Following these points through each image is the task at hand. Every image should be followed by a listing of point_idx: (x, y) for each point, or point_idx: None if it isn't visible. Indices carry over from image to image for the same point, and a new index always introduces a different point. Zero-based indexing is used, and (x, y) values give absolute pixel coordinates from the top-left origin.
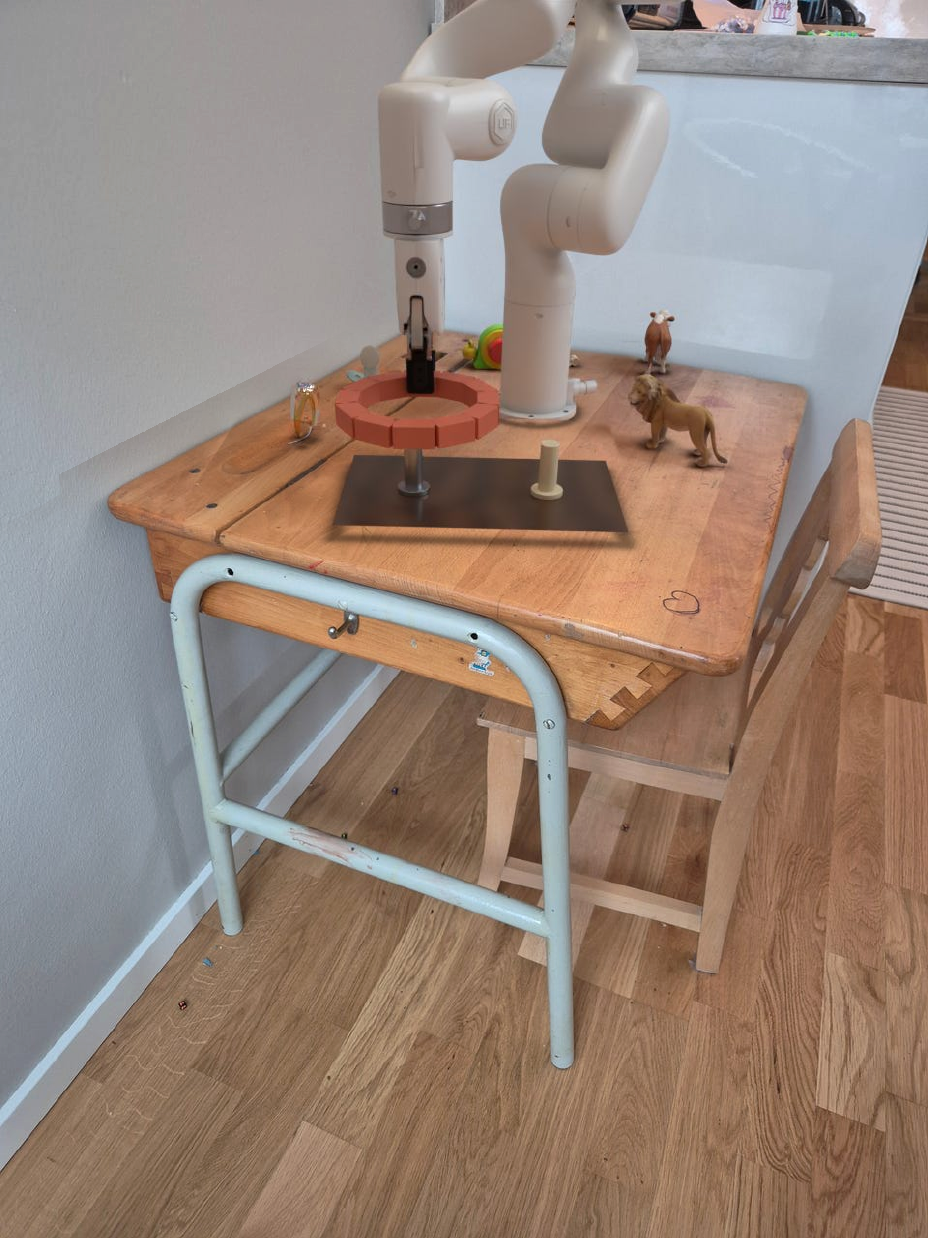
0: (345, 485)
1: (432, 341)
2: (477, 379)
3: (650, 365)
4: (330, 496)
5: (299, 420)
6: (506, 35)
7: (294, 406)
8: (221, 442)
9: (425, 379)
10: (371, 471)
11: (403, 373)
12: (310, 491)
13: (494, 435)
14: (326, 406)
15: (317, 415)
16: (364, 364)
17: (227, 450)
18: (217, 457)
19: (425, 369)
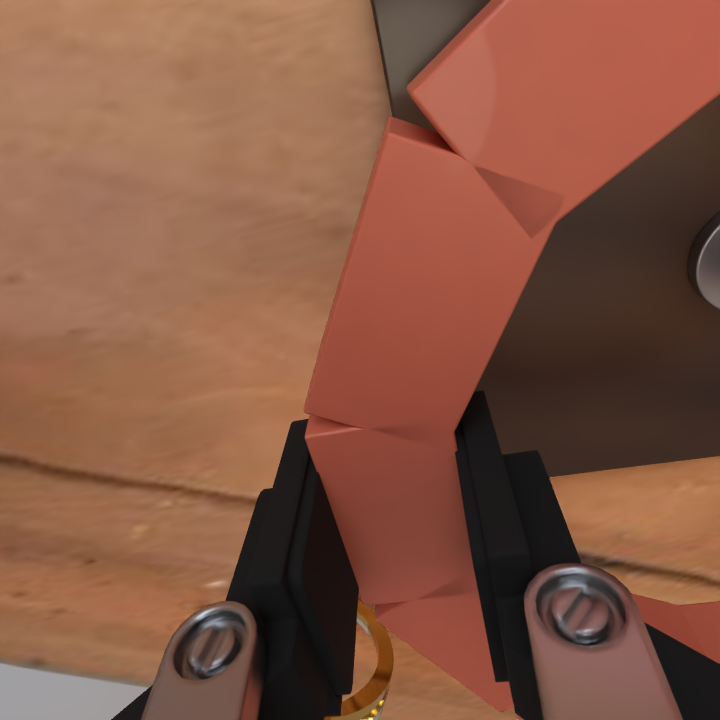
0: (703, 456)
1: (246, 674)
2: (450, 93)
3: None
4: (675, 468)
5: (387, 663)
6: None
7: (378, 709)
8: (392, 710)
9: (548, 485)
10: (588, 417)
11: (417, 600)
12: (643, 515)
13: (27, 91)
14: (95, 606)
15: None
16: None
17: (430, 693)
18: (472, 698)
19: (572, 540)
